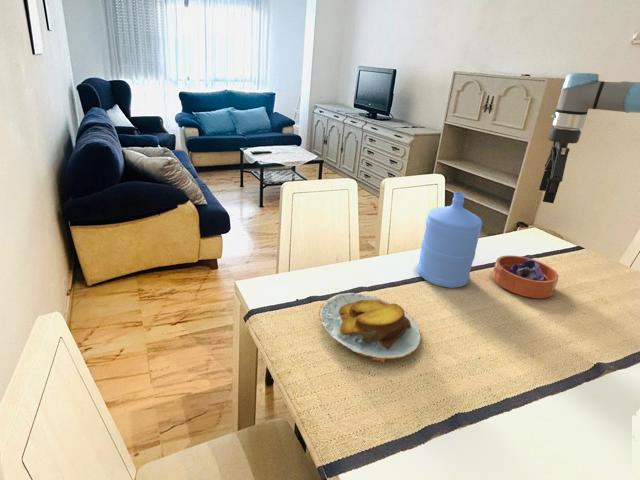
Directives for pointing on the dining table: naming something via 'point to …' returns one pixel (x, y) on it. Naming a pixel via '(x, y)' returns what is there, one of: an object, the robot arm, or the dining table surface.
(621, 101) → the robot arm
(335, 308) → the food on plate
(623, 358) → the dining table surface
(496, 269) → the pot
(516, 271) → the flower
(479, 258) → the dining table surface
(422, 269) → the water jug
